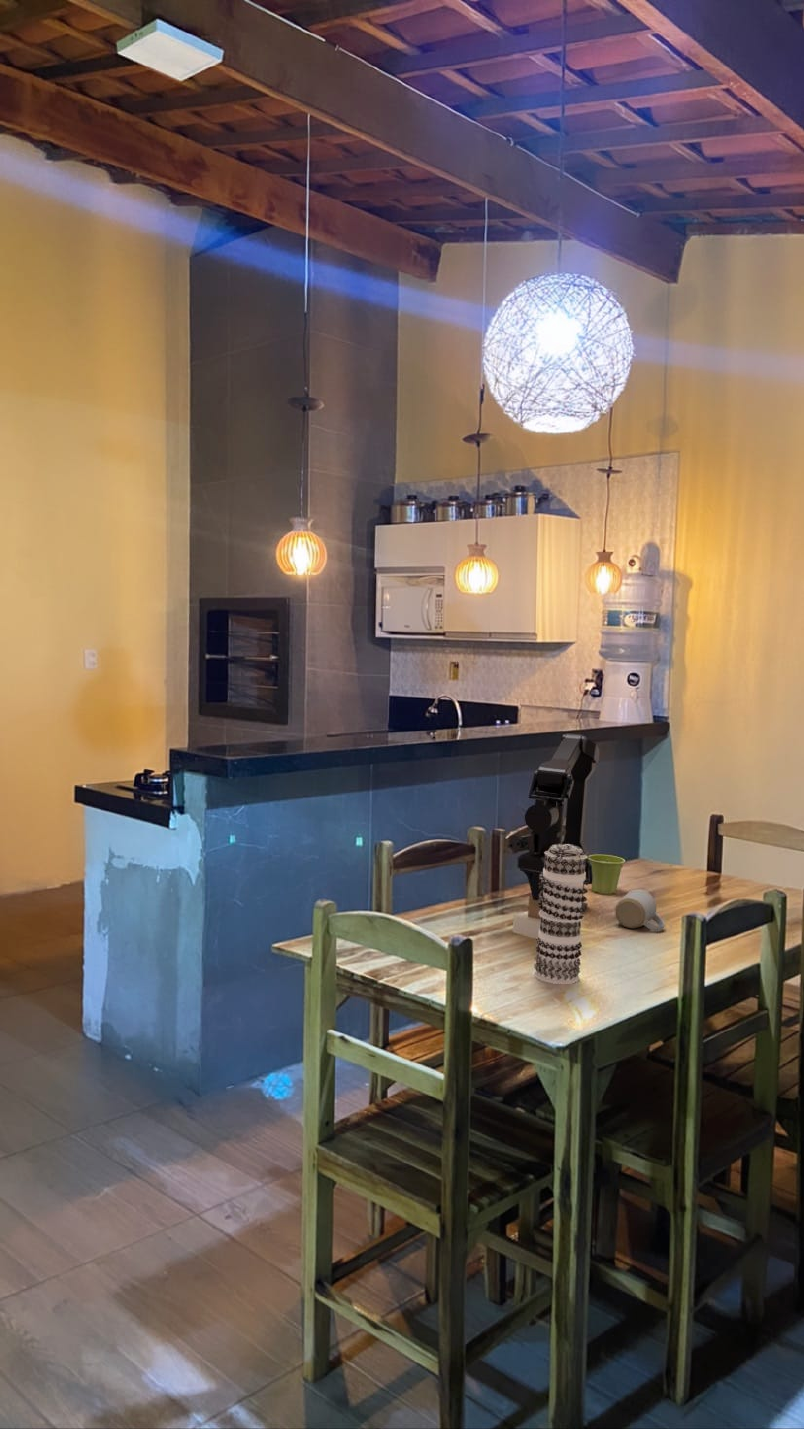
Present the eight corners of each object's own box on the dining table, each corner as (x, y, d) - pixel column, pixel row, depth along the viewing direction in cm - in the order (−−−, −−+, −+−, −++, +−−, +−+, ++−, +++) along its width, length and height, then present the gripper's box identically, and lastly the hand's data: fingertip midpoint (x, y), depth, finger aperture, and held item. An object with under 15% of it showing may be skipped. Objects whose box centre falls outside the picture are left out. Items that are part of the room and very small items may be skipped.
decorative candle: (543, 965, 199) (552, 839, 197) (588, 975, 194) (598, 846, 192) (524, 977, 191) (533, 846, 189) (570, 988, 186) (580, 854, 184)
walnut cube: (537, 912, 224) (539, 889, 224) (558, 916, 222) (560, 894, 221) (527, 916, 220) (529, 894, 220) (549, 921, 217) (550, 898, 217)
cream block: (534, 926, 227) (536, 908, 227) (570, 935, 222) (571, 917, 221) (512, 933, 221) (513, 915, 220) (548, 943, 215) (549, 925, 215)
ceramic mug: (612, 926, 230) (615, 892, 229) (623, 918, 237) (626, 886, 237) (658, 936, 225) (661, 902, 224) (668, 928, 232) (671, 895, 231)
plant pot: (625, 897, 257) (628, 863, 257) (588, 895, 257) (591, 861, 257) (618, 888, 267) (621, 855, 266) (582, 886, 267) (585, 853, 266)
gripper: (533, 814, 231) (528, 882, 233) (496, 824, 215) (491, 897, 217) (579, 821, 226) (574, 890, 227) (545, 832, 210) (539, 907, 211)
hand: (544, 896), depth 220 cm, fingers open, 9 cm apart
